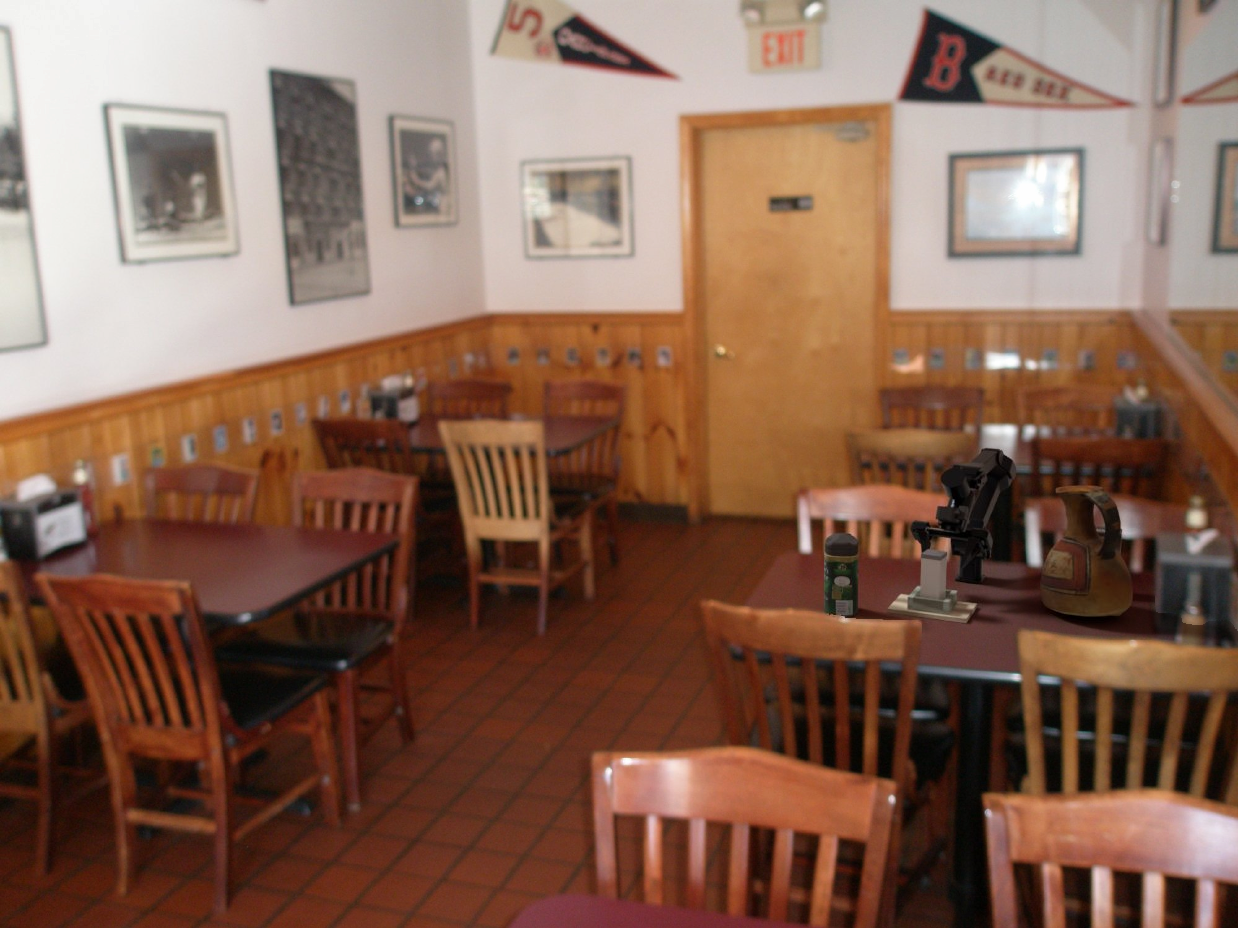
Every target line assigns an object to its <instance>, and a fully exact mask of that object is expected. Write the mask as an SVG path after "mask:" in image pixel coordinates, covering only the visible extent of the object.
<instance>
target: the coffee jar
mask: <svg viewBox="0 0 1238 928" xmlns="http://www.w3.org/2000/svg"><path fill="white" fill-rule="evenodd" d="M859 544H860V543H859V539H857V537H856V536H854V535H853V534H851V533H850V532H848V533H845V532H835V533H833V534H831V535H829V536H828V537H826V538H825V542H824V553H823V554H824V555H823V557H824V561H823V563H824V564H823V565H824V566H823V567H824V568H823V571H824V572H823V578H824V579H823V583H824V585H823V587H824V589H823V592H824V593H823V594H824V595H823V597H824V598H823V599H824V600H823V605H824V607H823V608H824V612H825V614H826V613H829V614H833V615H841V616H847V617H846V618H851V617H855V616H856V615H857V613H858V611H859V610H858V609H859V552H860V551H859Z"/></svg>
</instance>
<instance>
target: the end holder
mask: <svg viewBox="0 0 1238 928" xmlns="http://www.w3.org/2000/svg"><path fill="white" fill-rule="evenodd" d="M958 595H959V594H958V590H953V589H947V588H946V596H945V600H940V599H932V598H924V597H920V585H917V586H916V587H915V588H914V589H913V590H912V591H911V593H909V594H905V593H900V594H899V595H898V596H897V598H896V599H894V601H893V602H892V603H891V604H890V605H889V606H888V608H887V612H886V613H887V614H888V613H889V614H895V615H902V616H910V617H918V618H922V619H923V618H925V619H932V620H937V621H938V620H939V621H947V622H954V623H961V624H967V623H968V621H969V620H970V618H971V617H972V615H973V614H974V613H975V611H976V609H978V608H977V607H978V603H977V602H976V603H974V602H968V601H958Z"/></svg>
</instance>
